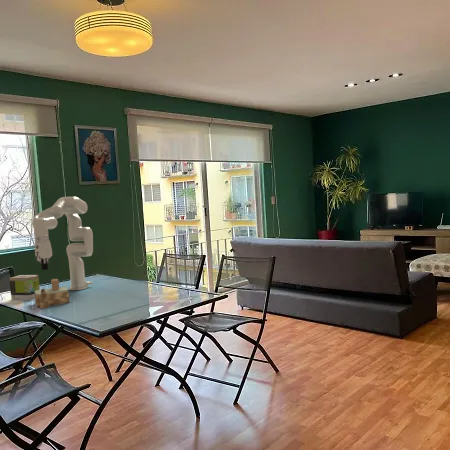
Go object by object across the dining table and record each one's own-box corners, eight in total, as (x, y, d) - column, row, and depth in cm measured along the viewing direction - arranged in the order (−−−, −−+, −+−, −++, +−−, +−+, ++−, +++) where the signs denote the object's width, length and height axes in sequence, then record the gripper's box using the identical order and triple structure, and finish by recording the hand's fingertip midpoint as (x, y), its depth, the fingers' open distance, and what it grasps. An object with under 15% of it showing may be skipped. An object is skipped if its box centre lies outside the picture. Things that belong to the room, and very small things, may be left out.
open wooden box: (66, 298, 281) (65, 286, 280) (70, 303, 267) (69, 290, 266) (35, 303, 273) (34, 290, 272) (38, 309, 259) (36, 295, 258)
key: (44, 293, 262) (44, 288, 261) (46, 296, 253) (46, 291, 253) (41, 293, 261) (40, 288, 261) (42, 297, 252) (42, 291, 252)
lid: (65, 290, 280) (64, 276, 280) (68, 293, 270) (67, 279, 270) (35, 294, 272) (33, 280, 272) (36, 298, 262) (35, 284, 261)
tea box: (41, 297, 290) (39, 274, 289) (29, 301, 281) (27, 277, 279) (22, 296, 295) (20, 274, 294) (10, 300, 286) (8, 277, 284)
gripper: (39, 240, 257) (42, 272, 259) (55, 237, 272) (58, 267, 273) (28, 241, 259) (31, 272, 261) (44, 237, 274) (47, 267, 275)
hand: (45, 269), depth 267 cm, fingers closed
